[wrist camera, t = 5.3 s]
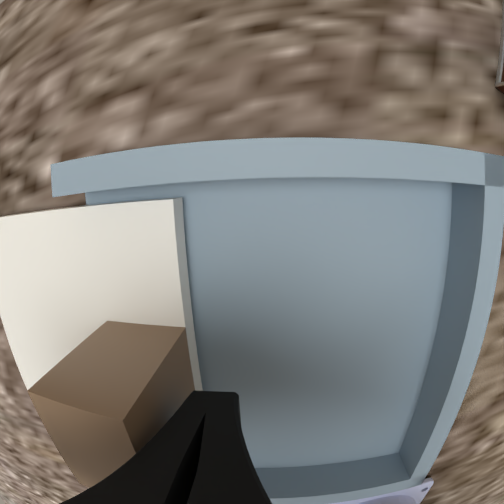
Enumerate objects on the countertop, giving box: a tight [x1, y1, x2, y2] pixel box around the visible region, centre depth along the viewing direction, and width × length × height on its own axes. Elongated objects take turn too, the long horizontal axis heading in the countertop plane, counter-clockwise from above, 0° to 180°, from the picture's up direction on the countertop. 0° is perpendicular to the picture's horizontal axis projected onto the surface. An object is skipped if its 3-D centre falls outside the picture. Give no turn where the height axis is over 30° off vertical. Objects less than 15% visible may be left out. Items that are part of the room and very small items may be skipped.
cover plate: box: [0, 197, 203, 488], centre depth 9 cm, size 12×10×5 cm
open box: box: [51, 138, 504, 504], centre depth 10 cm, size 15×14×2 cm
